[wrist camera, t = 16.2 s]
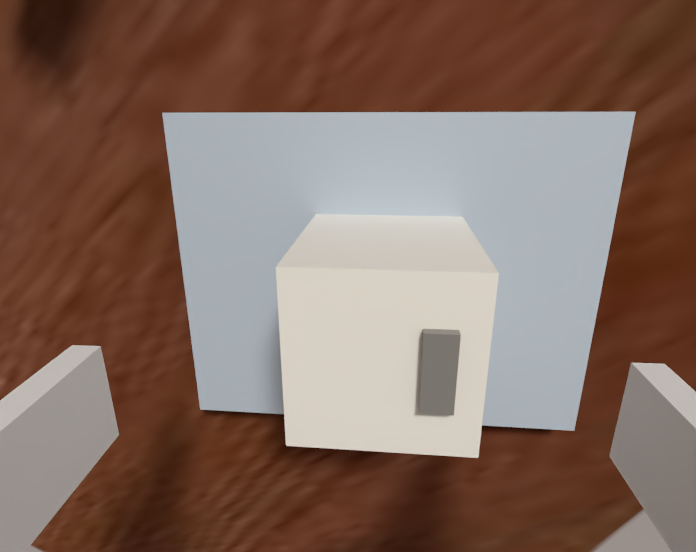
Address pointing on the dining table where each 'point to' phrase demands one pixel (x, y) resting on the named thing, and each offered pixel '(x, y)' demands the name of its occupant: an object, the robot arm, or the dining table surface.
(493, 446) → the dining table surface
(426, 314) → the cream box with handle
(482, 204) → the panel
